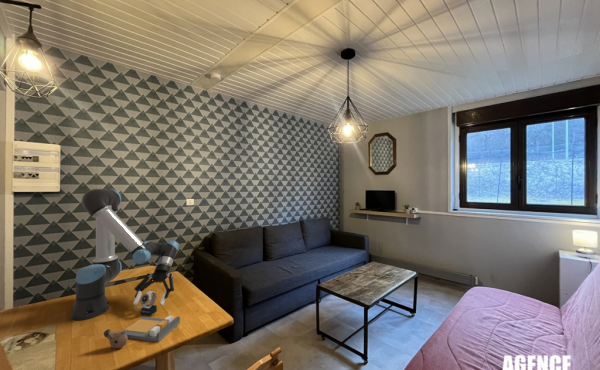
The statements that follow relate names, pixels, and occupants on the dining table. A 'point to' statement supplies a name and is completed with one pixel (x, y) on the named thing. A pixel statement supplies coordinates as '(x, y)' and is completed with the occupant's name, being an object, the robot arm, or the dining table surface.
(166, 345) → the dining table surface
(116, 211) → the robot arm
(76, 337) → the dining table surface
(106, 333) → the oil lamp
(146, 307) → the watch
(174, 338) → the dining table surface
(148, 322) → the board
